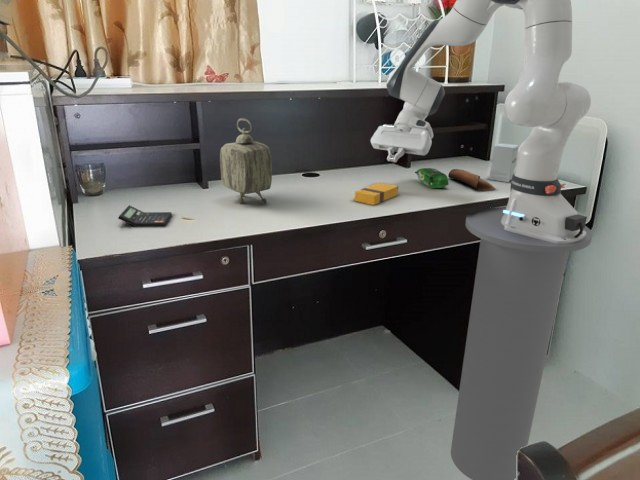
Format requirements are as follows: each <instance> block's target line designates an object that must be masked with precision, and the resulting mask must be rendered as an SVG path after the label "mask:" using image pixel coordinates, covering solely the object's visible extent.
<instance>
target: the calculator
mask: <svg viewBox="0 0 640 480" xmlns="http://www.w3.org/2000/svg"><path fill="white" fill-rule="evenodd" d="M172 214H173V213H172V211H161V212H160V211H157V212H155V211H153V212H152V211H151V212H150V211H146V212H145V211H143V210H140V209H138V208H136V207H134V206H132V205H128V206H126V208H125V209H124V210H123V211H122V212H121V213H120V214H119V215H118V217H117V219H118V220H120V221H122V222H125V223H126V224H129V225H131V226H132V227H136V228H137V227H165V226H166V225H167V224H168V222H169V220H170V219H171V217H172Z"/></svg>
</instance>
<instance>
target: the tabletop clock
mask: <svg viewBox="0 0 640 480" xmlns="http://www.w3.org/2000/svg"><path fill="white" fill-rule="evenodd" d="M241 121H242V122H243V121H244V122H247V123H248V125H249V128H250V129H249V130H247V128H246V127H243V128H242V129H241V128H240V126H239V124H240V122H241ZM236 128H237V130H238V131H239V132H240V133H241V134H239V135H238V136H237V137H236V139H235V142H229V143H225V144H224V145H223V146H222V147H221V148H220V150H219V169H220V179H221V184H222V185H223V186H224V187H225V188H226V189H229V190H232V191H234V192H237V193H238V194H239V196H240V197H239V198H238V199H237V201H238V203H240V204H243V203H244V201H245V200H244V198H243V197H245V195H250V194H254V193H255V194H257V195H258V196H259V198H260V199H261V203H262V204H266V203H267V198H265V197H263V195H262V193H261V192H263V191H268V190H270V189H271V187H272V181H273V161H272V154H271V150H270V147H269V146H268V145H266V144H264V143H262V142H259V141H254V138H253V137H252V135H250V133H251V132H252V130H253V125H252V122H251V121H250V120H249V119H247V118H245V117H240V118H238V119H237V121H236Z"/></svg>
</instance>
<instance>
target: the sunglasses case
mask: <svg viewBox="0 0 640 480" xmlns="http://www.w3.org/2000/svg"><path fill="white" fill-rule="evenodd" d="M447 174H448V175H447V178H449V179H451V180H458V181H459V182H461V183H465V184H466V185H468V186H471V187H473V188H474V189H476V190H477V192H481V191H482V192H487V191H493V190H496V188H495V186H493V185H492V184H491V183H490V182H488V181H486V180H485V179H482V178H481V176H480V175H478V174H475V173H473V172H470V171H467V170H464V169H459V168H453V169H451V170H450V171H449V172H448V173H447Z"/></svg>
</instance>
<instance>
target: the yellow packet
mask: <svg viewBox="0 0 640 480" xmlns="http://www.w3.org/2000/svg"><path fill="white" fill-rule="evenodd" d="M398 192H399V186H398V185H395V184H388V183H383V182H378V183H375V184H372V185H370V186H366V187H363V188H361V189H358V190H355V192H354V202H358V203H362V204H368V205H371V206H375V205H378V204H381V203H383V202H384V201H387V200H389V199H392V198H394V197H396V196H398Z"/></svg>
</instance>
